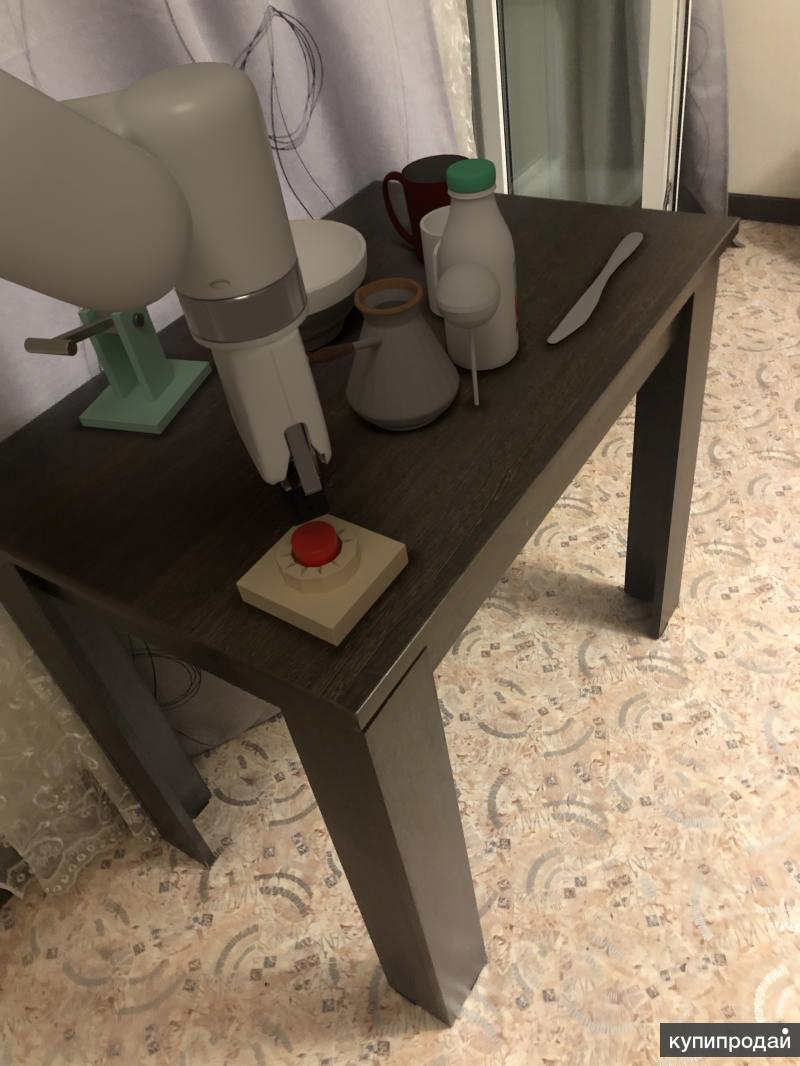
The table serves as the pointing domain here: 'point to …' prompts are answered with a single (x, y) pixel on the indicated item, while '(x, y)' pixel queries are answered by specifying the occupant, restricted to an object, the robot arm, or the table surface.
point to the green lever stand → (139, 376)
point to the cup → (433, 250)
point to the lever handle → (71, 337)
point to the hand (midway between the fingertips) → (308, 513)
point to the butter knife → (595, 289)
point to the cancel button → (315, 544)
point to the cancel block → (325, 581)
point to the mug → (420, 193)
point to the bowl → (328, 275)
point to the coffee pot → (395, 359)
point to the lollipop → (468, 302)
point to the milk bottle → (480, 262)
